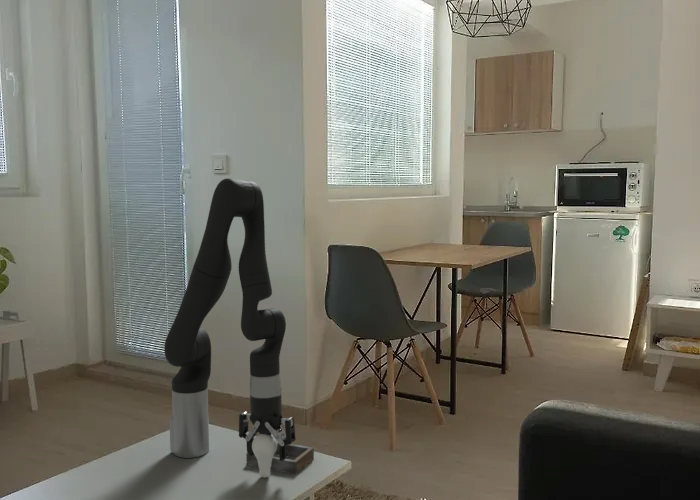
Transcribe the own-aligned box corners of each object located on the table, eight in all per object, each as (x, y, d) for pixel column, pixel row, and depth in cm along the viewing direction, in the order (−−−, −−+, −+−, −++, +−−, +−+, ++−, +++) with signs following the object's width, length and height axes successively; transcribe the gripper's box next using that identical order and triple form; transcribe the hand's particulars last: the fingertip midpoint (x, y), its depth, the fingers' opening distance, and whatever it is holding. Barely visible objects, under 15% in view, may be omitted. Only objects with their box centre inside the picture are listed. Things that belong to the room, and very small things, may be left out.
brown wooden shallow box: (246, 464, 173) (246, 453, 172) (266, 450, 182) (266, 439, 181) (295, 474, 167) (295, 462, 167) (313, 458, 176) (313, 447, 176)
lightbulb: (273, 483, 162) (272, 439, 161) (248, 481, 163) (247, 437, 162) (280, 473, 168) (280, 429, 167) (257, 471, 169) (256, 428, 168)
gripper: (231, 393, 163) (233, 459, 164) (284, 399, 157) (286, 467, 159) (247, 384, 170) (249, 447, 171) (299, 390, 164) (300, 455, 166)
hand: (267, 457), depth 165 cm, fingers open, 8 cm apart
